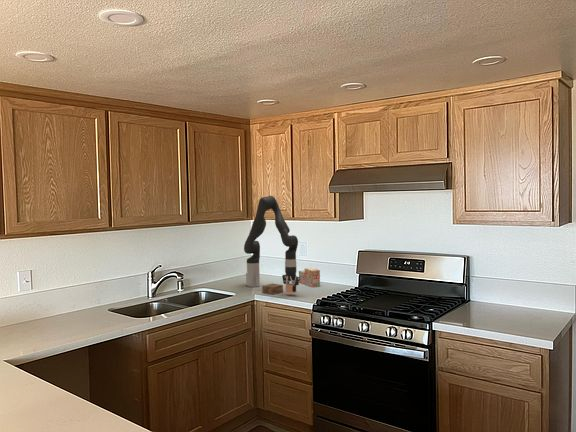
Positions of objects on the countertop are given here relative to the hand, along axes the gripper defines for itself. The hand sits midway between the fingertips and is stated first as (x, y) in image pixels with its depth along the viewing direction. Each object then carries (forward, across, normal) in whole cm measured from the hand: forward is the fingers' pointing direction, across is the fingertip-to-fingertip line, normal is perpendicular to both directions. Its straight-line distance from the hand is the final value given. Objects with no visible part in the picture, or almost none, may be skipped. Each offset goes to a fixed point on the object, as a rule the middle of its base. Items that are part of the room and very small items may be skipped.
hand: (291, 291), depth 322 cm
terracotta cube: (0, 0, 0) cm, 0 cm away
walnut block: (+3, -16, -1) cm, 16 cm away
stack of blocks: (+3, -14, +36) cm, 39 cm away
